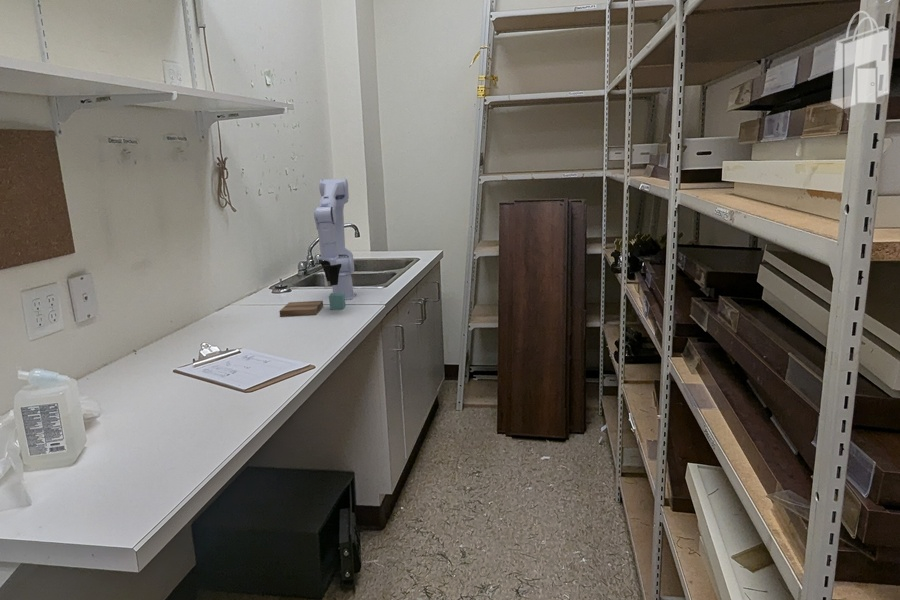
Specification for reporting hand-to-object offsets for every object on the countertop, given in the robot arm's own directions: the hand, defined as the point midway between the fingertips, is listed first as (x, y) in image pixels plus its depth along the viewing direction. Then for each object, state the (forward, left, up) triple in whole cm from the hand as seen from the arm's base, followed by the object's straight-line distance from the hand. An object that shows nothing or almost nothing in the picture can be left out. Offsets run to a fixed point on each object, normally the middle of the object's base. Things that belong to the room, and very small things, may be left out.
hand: (332, 282), depth 194 cm
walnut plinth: (-1, -12, -10) cm, 15 cm away
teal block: (-3, 0, -10) cm, 10 cm away
